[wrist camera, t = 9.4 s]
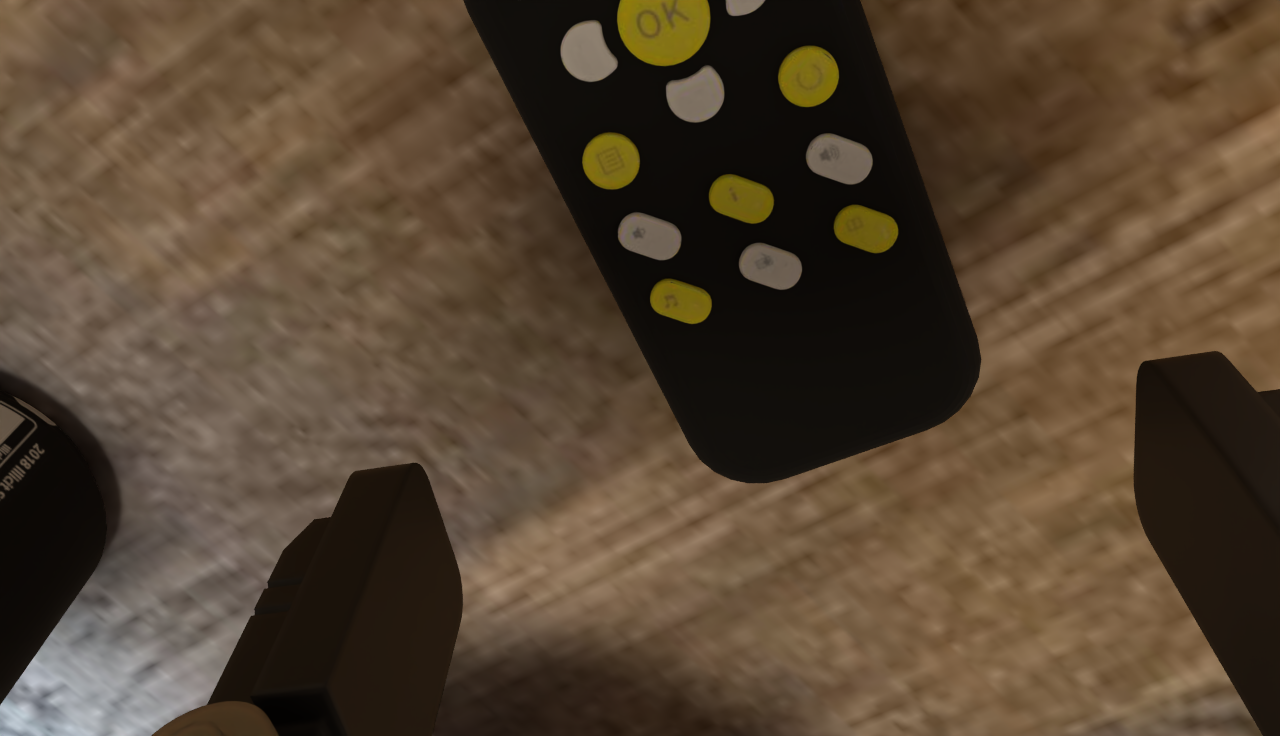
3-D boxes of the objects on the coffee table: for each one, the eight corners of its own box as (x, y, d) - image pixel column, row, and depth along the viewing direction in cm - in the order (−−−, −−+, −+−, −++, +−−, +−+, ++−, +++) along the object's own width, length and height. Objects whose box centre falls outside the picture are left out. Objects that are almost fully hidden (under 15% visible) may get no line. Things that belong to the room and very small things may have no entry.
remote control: (715, 464, 25) (718, 518, 23) (437, -87, 20) (413, -70, 18) (984, 369, 24) (1008, 420, 22) (767, -253, 18) (775, -253, 16)
